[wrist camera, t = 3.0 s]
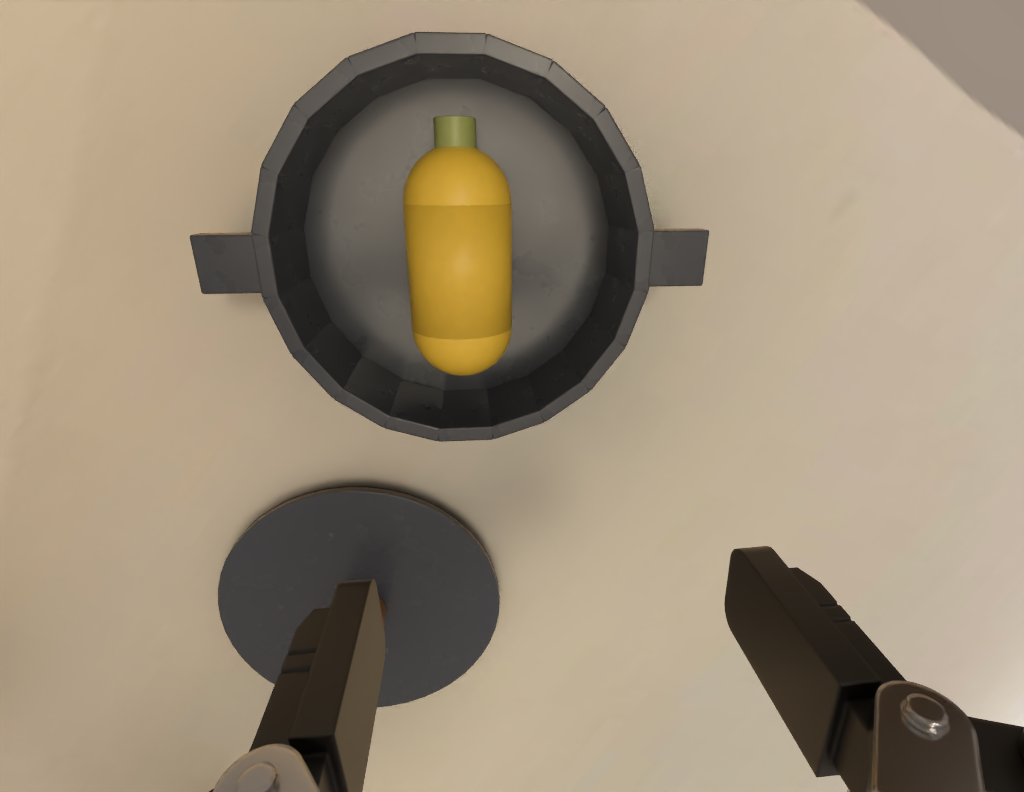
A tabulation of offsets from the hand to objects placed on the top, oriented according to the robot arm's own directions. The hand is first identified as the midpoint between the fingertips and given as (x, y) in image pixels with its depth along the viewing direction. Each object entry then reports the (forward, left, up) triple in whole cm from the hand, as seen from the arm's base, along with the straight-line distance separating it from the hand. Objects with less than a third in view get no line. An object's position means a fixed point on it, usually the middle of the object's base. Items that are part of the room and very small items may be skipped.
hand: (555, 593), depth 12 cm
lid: (-9, -17, -18) cm, 26 cm away
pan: (-2, +5, -19) cm, 20 cm away
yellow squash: (-2, +5, -19) cm, 19 cm away
